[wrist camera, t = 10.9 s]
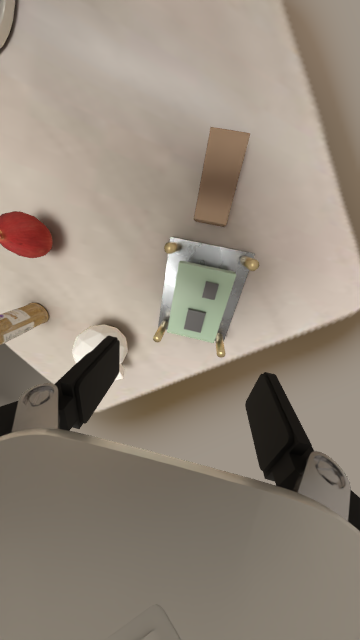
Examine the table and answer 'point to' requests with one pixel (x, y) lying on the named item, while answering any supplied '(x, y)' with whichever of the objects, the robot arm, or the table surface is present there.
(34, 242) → the onion
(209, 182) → the walnut stand
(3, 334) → the sprinkles bottle
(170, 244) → the chassis
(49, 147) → the table surface
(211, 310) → the board
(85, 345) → the perfume bottle
